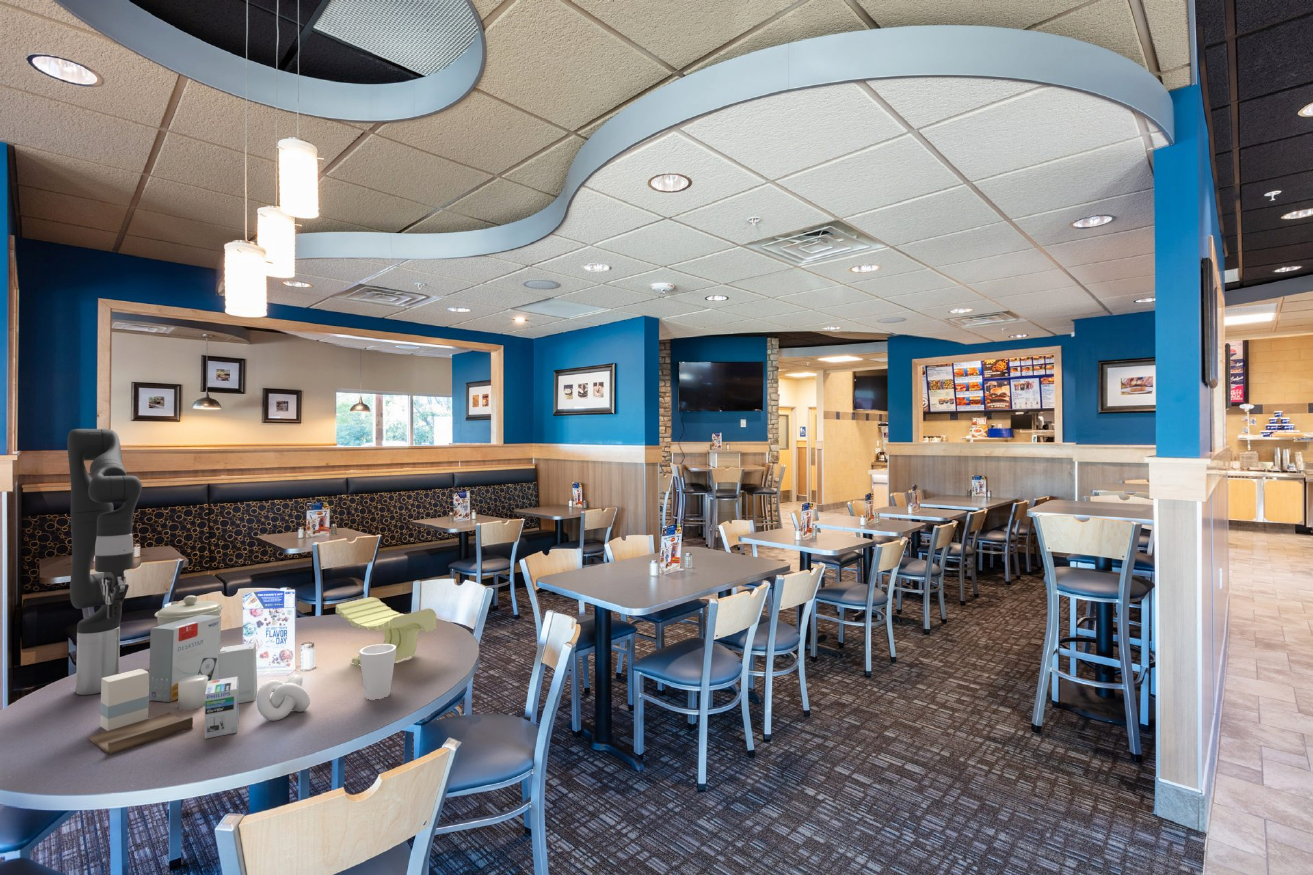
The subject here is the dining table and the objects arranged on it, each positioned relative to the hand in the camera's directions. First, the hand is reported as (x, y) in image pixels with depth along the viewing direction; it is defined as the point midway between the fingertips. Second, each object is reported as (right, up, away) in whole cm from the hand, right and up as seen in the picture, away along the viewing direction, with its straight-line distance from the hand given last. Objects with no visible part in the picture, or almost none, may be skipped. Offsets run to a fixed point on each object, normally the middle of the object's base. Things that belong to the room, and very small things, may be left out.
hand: (113, 618), depth 162 cm
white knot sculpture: (+45, -25, +1) cm, 51 cm away
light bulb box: (+34, -25, -8) cm, 43 cm away
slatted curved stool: (+53, -26, +42) cm, 72 cm away
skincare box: (+27, -25, +8) cm, 38 cm away
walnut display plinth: (+17, -25, -11) cm, 32 cm away
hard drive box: (+8, -26, +15) cm, 31 cm away
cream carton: (+8, -25, -5) cm, 27 cm away
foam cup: (+64, -26, +12) cm, 70 cm away
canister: (-11, -26, +41) cm, 50 cm away
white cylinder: (+17, -25, +5) cm, 31 cm away
